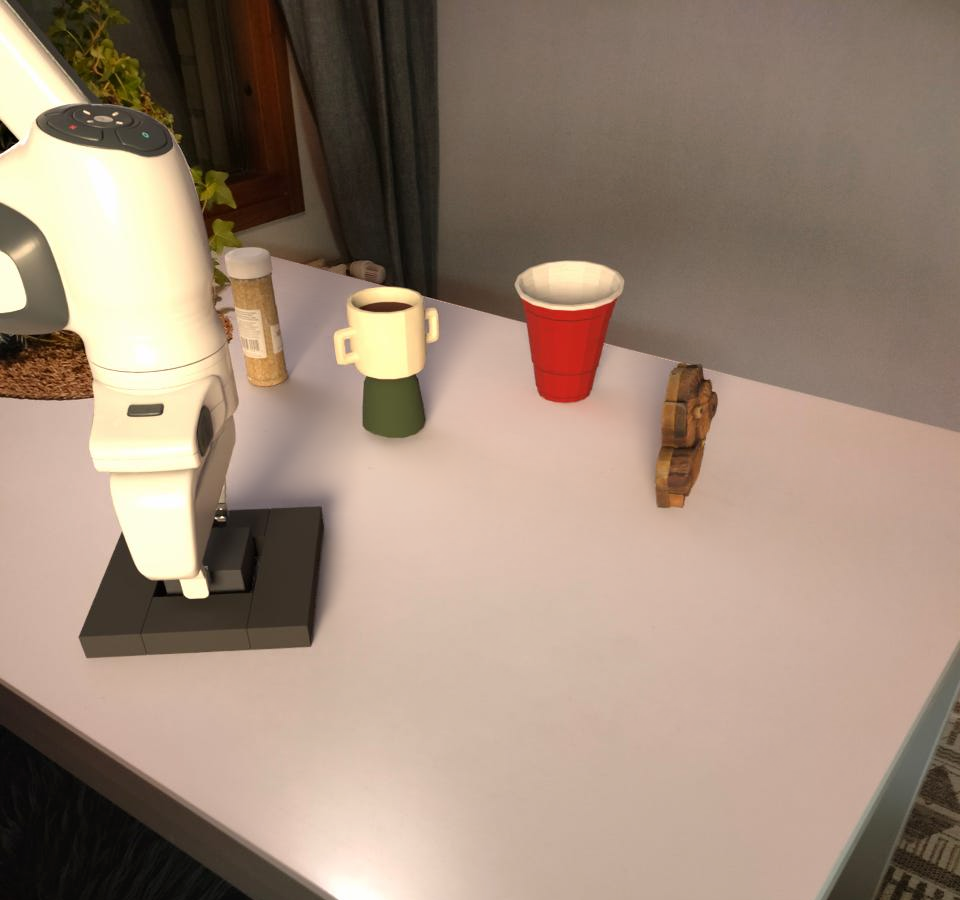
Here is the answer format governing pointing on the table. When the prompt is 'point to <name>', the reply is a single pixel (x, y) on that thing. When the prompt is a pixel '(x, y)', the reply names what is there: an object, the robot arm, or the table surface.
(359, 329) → the character mug
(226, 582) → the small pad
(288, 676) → the table surface
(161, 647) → the base pad
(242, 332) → the sprinkles bottle
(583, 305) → the plastic cup
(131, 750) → the table surface
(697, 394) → the wooden carving
